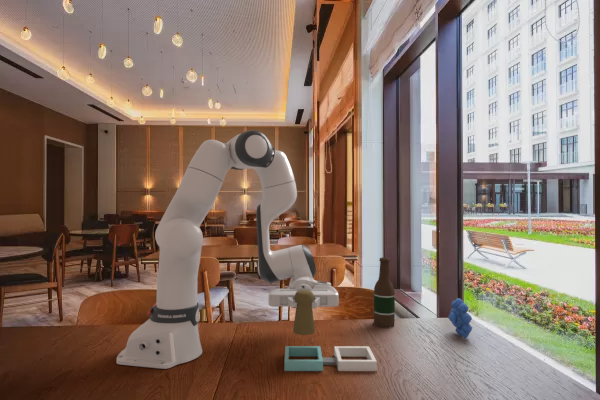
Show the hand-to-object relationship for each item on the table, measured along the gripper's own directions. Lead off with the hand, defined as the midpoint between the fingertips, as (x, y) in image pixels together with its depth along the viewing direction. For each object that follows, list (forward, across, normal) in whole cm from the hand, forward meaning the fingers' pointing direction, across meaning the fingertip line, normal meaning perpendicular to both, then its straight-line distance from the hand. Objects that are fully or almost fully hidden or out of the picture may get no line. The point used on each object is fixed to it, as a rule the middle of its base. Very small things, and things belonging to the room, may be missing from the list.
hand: (304, 305), depth 98 cm
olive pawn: (-1, 0, +8) cm, 8 cm away
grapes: (-22, +52, +16) cm, 58 cm away
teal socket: (-1, 0, +16) cm, 16 cm away
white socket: (-1, +12, +16) cm, 20 cm away
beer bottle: (-33, +30, +16) cm, 47 cm away
